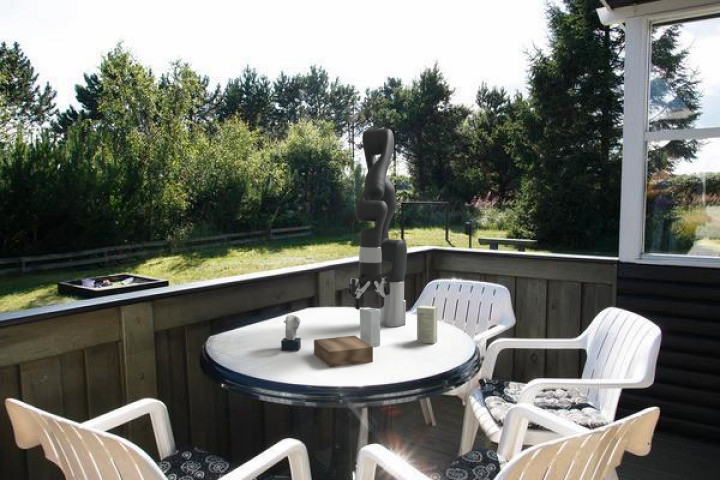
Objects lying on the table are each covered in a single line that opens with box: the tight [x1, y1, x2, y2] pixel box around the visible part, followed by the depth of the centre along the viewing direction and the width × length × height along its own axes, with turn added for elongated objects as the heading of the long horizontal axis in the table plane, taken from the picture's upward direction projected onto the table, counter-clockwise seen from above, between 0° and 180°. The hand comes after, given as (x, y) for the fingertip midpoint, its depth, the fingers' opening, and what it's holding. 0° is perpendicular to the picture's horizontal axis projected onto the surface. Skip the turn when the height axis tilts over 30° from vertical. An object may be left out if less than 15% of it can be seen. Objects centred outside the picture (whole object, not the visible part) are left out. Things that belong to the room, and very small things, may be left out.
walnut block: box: [313, 335, 374, 368], centre depth 165 cm, size 14×14×5 cm
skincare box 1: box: [359, 307, 381, 348], centre depth 179 cm, size 6×4×12 cm
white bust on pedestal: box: [280, 314, 302, 352], centre depth 173 cm, size 6×8×11 cm
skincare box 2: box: [416, 305, 438, 344], centre depth 184 cm, size 6×4×12 cm
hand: (369, 308), depth 179 cm, fingers open, 8 cm apart
